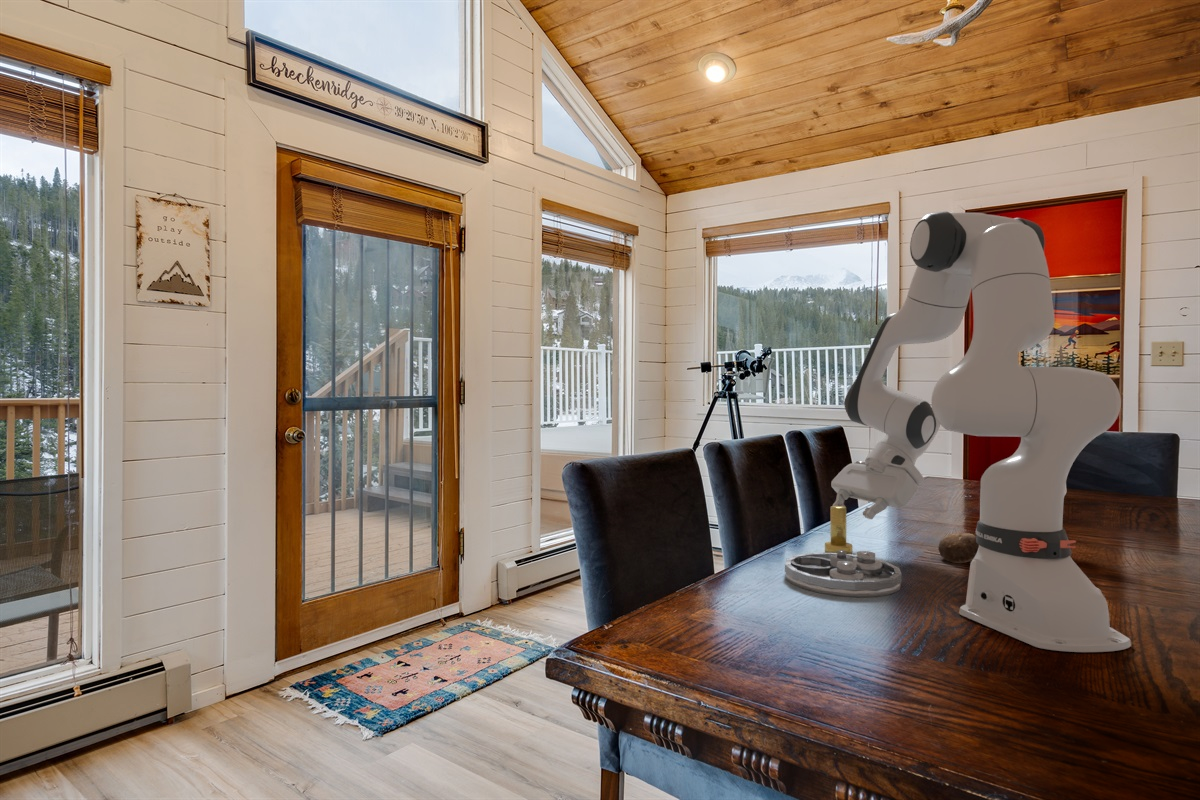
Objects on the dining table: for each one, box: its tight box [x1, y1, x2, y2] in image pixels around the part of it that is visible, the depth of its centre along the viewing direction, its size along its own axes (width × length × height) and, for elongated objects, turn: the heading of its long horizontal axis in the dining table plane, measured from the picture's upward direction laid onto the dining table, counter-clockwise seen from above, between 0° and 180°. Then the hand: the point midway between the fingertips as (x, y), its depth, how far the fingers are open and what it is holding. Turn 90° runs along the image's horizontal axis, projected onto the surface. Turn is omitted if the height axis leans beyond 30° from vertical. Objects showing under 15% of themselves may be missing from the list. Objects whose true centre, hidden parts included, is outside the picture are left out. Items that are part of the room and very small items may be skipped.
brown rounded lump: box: [938, 532, 979, 564], centre depth 140 cm, size 8×8×6 cm
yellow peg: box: [824, 505, 853, 554], centre depth 146 cm, size 6×6×10 cm
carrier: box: [784, 550, 903, 598], centre depth 126 cm, size 20×20×5 cm
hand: (850, 512), depth 147 cm, fingers open, 8 cm apart
